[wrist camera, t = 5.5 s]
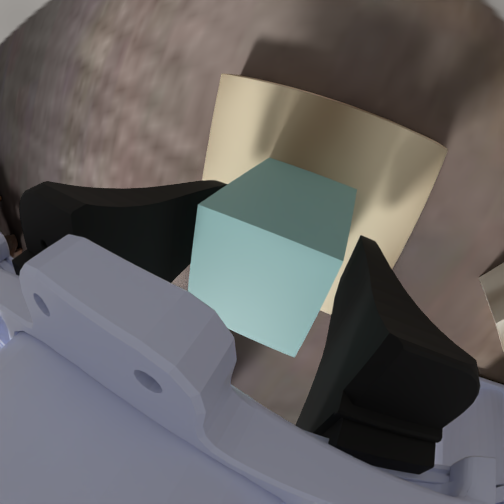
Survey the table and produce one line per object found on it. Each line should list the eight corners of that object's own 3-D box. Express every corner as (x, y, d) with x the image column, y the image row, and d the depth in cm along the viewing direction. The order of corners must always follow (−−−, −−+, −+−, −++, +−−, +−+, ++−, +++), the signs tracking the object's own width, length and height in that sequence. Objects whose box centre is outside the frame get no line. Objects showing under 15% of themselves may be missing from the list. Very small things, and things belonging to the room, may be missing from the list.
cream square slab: (437, 142, 11) (447, 149, 10) (361, 302, 17) (358, 325, 15) (239, 75, 13) (221, 73, 11) (208, 240, 19) (192, 255, 17)
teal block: (357, 189, 12) (343, 261, 7) (326, 264, 14) (294, 357, 9) (269, 157, 13) (197, 204, 8) (250, 233, 15) (186, 308, 10)
